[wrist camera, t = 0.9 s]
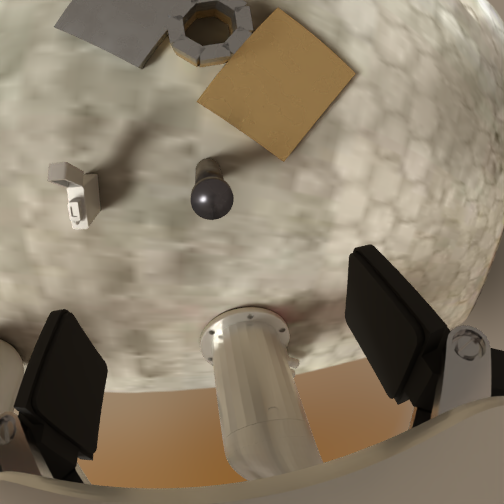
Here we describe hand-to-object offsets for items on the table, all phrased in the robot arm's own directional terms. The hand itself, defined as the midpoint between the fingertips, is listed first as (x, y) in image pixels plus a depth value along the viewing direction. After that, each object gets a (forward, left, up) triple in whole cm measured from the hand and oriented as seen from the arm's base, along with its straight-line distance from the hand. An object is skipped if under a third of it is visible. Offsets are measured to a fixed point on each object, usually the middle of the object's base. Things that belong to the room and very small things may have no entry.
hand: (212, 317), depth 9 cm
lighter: (+9, +7, -22) cm, 25 cm away
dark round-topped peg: (-1, 0, -21) cm, 21 cm away
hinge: (+7, -11, -21) cm, 25 cm away
